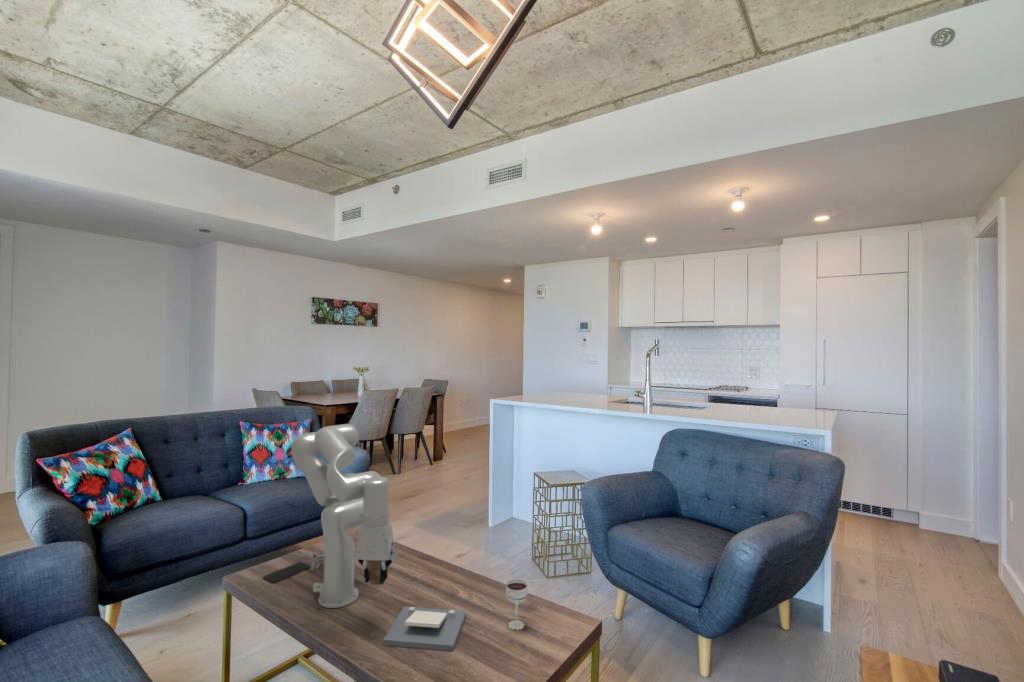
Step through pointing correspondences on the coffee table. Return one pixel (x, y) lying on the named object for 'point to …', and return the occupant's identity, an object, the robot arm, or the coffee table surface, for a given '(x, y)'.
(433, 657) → the coffee table surface
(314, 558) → the caliper
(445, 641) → the board
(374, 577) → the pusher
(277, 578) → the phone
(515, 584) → the wineglass
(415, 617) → the tile
